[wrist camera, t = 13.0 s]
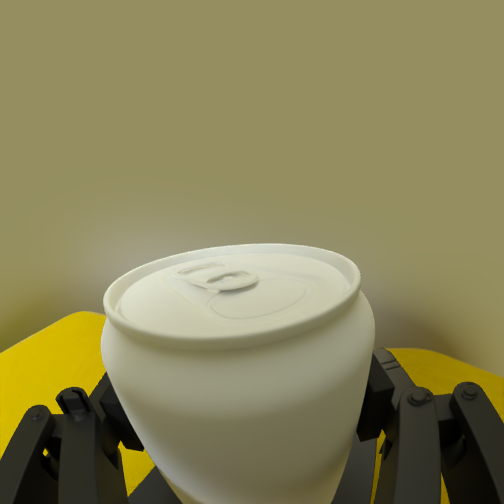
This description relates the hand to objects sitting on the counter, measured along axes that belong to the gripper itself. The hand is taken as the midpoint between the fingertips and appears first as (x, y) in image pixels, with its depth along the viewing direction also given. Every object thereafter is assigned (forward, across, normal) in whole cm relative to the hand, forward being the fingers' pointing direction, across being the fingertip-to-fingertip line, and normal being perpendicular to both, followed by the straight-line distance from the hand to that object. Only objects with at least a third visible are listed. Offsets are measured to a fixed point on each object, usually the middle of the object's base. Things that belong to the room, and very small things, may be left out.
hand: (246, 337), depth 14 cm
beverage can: (-5, 0, -7) cm, 9 cm away
